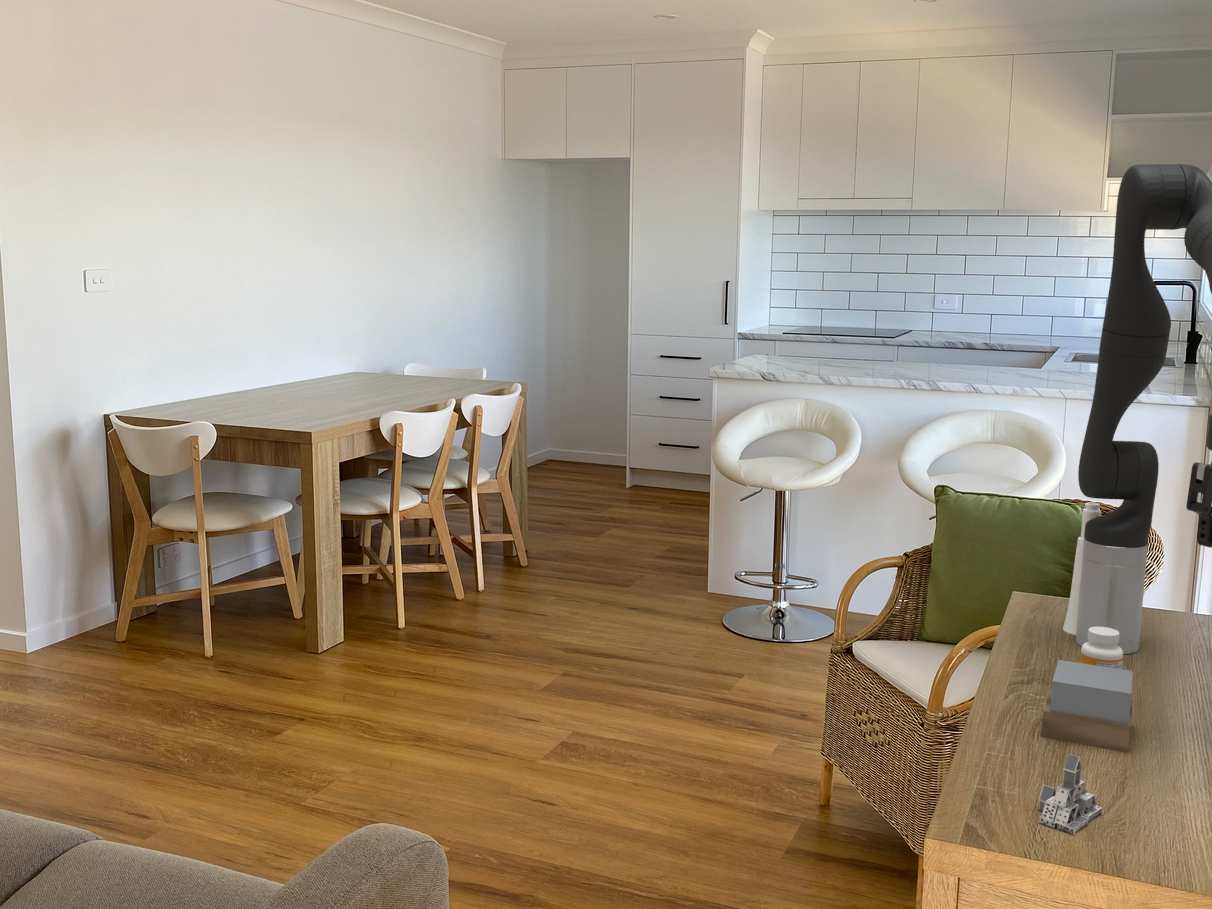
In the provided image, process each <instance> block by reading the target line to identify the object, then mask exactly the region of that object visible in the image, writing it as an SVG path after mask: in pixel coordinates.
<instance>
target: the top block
mask: <svg viewBox="0 0 1212 909" xmlns="http://www.w3.org/2000/svg"><path fill="white" fill-rule="evenodd" d="M1133 674H1134V672H1133V670H1129V669H1123V668H1122V669H1115V668H1109V667H1102V666H1096V665H1089V664H1082V663H1080V662H1075V661H1069V660H1068V661H1067V660H1062V659H1058V660H1057V664H1056V666H1055V671H1054V675H1053V678H1052V682H1051V683H1052V684H1051V686H1052V694H1051V707H1050V711H1051V712H1057V713H1063V714H1069V715H1075V716H1081V717H1086V718H1092V719H1098V720H1104V721H1110V722H1116V723H1122V724H1128V725H1129V714H1130V703H1131V699H1132V690H1133V689H1132V688H1133Z"/></svg>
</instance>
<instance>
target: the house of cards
mask: <svg viewBox="0 0 1212 909" xmlns="http://www.w3.org/2000/svg"><path fill="white" fill-rule="evenodd" d="M1065 758H1066V759H1065V762H1064V766H1063V768H1062V770H1063V774H1062V783H1061V784H1059V785H1058V786H1056V788H1055V787H1053V786H1050V785H1046V784H1042V787H1041V789H1040V790H1041V791H1040V793H1039V797H1038V802H1039V803H1038V811H1041V812H1042V813H1041V815H1040V816H1039V818H1038V819H1039V820H1038V822H1039V823H1040V824H1043V825H1045V826H1048V827H1052V829H1053V828H1054V829H1056V830H1059V831H1063V832H1066V833H1067V834H1071V835H1074V836H1075V835H1076V832H1077V831H1079V829H1081V828H1082V827H1084V826H1085V825H1089V822H1090V821H1091V820H1093V819H1095V818H1096V817H1098V816H1099V815H1102V814H1103V807H1102V806H1099V805H1097V802H1096V797H1095V794H1092V793H1089V792H1088V791H1087V787H1086V782H1085V781H1084V780H1081V773H1082V772H1081V771H1082V769H1083V764H1082V760H1081V757H1080V756H1078V755H1074V754H1072V753H1067V755H1066V757H1065ZM1054 829H1053V830H1054Z"/></svg>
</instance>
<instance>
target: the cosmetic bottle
mask: <svg viewBox="0 0 1212 909" xmlns="http://www.w3.org/2000/svg"><path fill="white" fill-rule="evenodd" d="M1084 506H1085V507H1084V508H1083V510H1082V516H1081V517H1082V518H1081V519H1082V520H1081V531H1080V536H1078V538H1077V542H1076V549H1075V557H1074V565H1073V572H1072V581H1071V586H1070V587H1071V589H1070V594H1069V601H1068V606H1067V611H1066V615H1065V620H1064V623H1063V627H1062V630H1063V631H1064V633H1065V632H1066V633H1067V634H1070V635H1074V636H1076V628H1077V616H1078V603H1079V590H1080V582H1081V571H1082V559H1083V545H1084V532H1085V525H1086V523H1087V522H1088V521H1089V520H1091V519H1093V518H1096V517H1099V516H1102V510H1101V509H1100V507H1101V504H1100V503H1097V502H1085V504H1084Z"/></svg>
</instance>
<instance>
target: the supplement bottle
mask: <svg viewBox="0 0 1212 909" xmlns="http://www.w3.org/2000/svg"><path fill="white" fill-rule="evenodd" d="M1088 640H1089V642H1086V643H1084V644H1083V645H1082V646H1081V649H1080V659H1079V663H1082V664H1089V665H1096V666H1102V667H1109V668H1115V669H1122V670H1123V664H1124V663H1123V662H1124V654H1123V651H1122V649H1121V648H1120V647H1119V646H1117V644H1118V643H1119V632H1118V631H1117V630H1115V629H1112V628H1107V627H1091V628H1089V629H1088Z"/></svg>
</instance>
